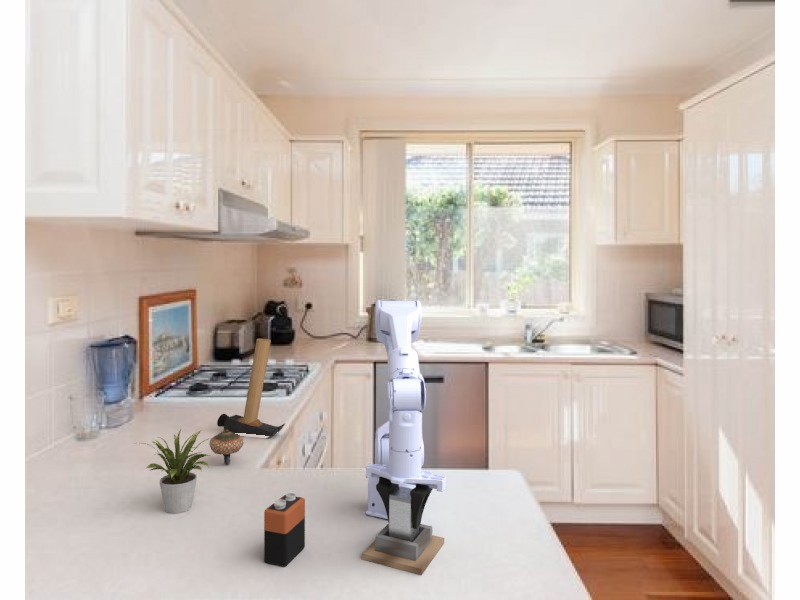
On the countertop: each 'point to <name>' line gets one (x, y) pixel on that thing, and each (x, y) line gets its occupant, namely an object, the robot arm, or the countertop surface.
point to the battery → (284, 529)
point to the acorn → (226, 444)
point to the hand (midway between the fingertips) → (404, 523)
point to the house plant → (178, 474)
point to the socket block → (404, 550)
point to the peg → (401, 515)
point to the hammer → (252, 399)
